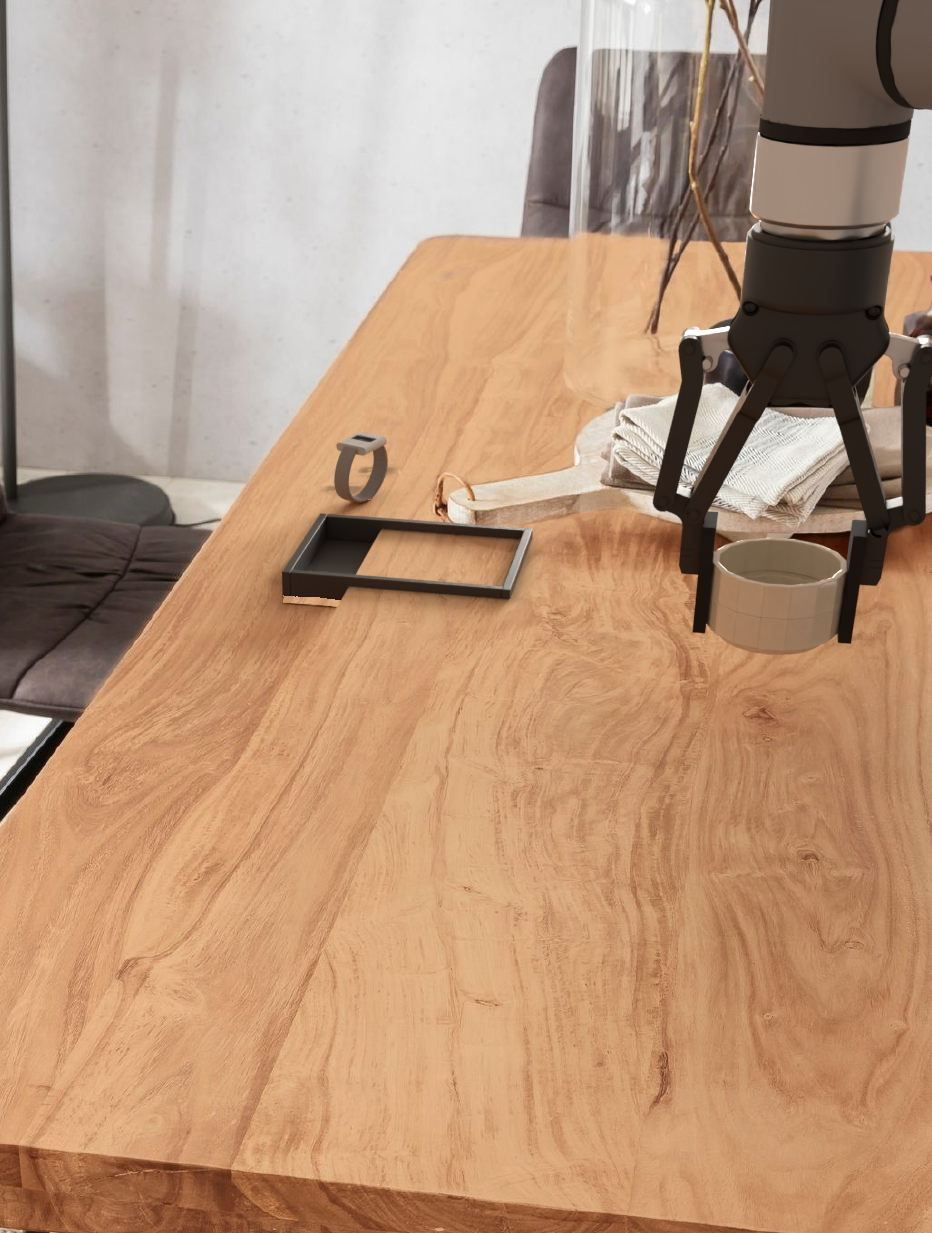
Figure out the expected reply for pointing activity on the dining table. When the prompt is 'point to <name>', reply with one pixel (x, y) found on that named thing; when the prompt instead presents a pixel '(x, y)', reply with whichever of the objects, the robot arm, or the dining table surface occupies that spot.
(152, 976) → the dining table surface
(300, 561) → the tray frame
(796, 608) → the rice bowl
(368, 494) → the wristwatch
